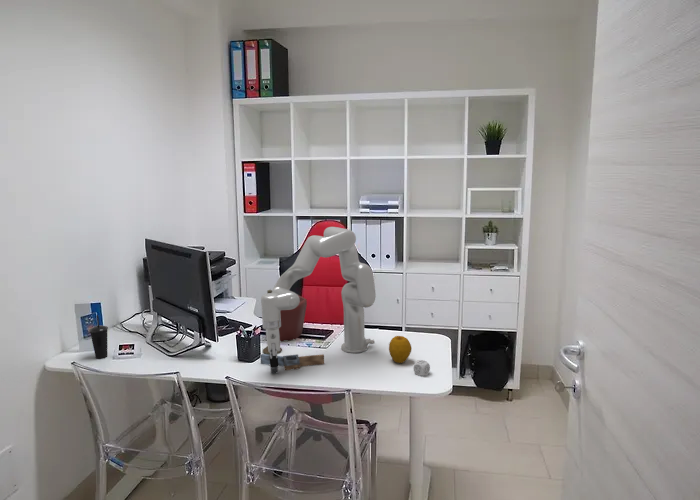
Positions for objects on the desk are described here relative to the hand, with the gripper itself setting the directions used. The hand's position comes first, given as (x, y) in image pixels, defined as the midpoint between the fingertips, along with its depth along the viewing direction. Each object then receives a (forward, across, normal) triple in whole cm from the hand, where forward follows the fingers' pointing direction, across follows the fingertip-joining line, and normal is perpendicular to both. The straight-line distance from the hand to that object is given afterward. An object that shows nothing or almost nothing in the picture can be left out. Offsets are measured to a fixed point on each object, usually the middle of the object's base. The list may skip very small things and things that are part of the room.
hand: (274, 364), depth 212 cm
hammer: (+4, +7, -8) cm, 12 cm away
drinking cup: (+3, +37, +76) cm, 85 cm away
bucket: (+4, +45, -9) cm, 46 cm away
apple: (+5, -1, -55) cm, 55 cm away
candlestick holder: (+4, +25, -1) cm, 25 cm away
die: (+5, -15, -60) cm, 62 cm away
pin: (+3, 0, 0) cm, 3 cm away
